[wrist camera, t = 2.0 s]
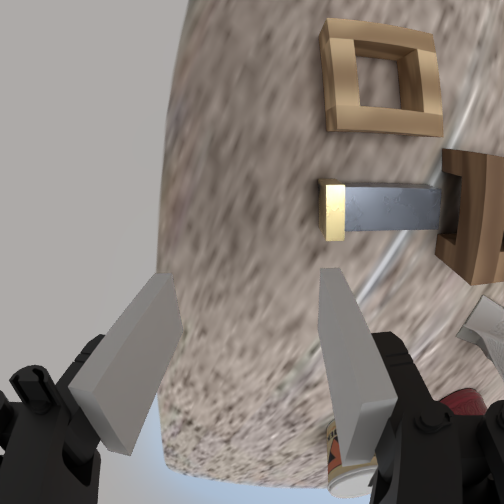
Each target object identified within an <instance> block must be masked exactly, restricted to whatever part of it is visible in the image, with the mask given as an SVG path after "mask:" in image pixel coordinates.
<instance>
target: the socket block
mask: <svg viewBox="0 0 504 504" xmlns="http://www.w3.org/2000/svg"><path fill="white" fill-rule="evenodd" d="M442 171H443V172H447V173H451V174H455V175H458V176H462V185H461V200H460V212H459V221H458V230H457V234H438V235H437V243H436V250H435V255H436V256H437V257H438V258H439V259H440V260H442V261H443V262H444V263H445V264H446V265H448V266H449V267H450V268H451V269H452V270H454V271H455V272H456V273H457V274H458V275H459V276H460V277H462V278H463V279H464V280H465V281H466V282H467V283H468V284H470V285H471V286H472V285H480V284H488V283H496V282H503V281H504V236H503V231H504V157H499V156H494V155H488V154H482V153H475V152H468V151H460V150H452V149H444V148H442Z"/></svg>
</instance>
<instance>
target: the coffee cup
mask: <svg viewBox="0 0 504 504" xmlns="http://www.w3.org/2000/svg"><path fill="white" fill-rule="evenodd" d="M327 459H328V486H327V488H328V491H329V492H330V494H331V495H332V496H334V497H337V498H355V497H360V496H364V495H368V494H371V492H372V487H368V484H369V482H370V480H371V478H372V476H373V474H374V473H375V471H376V469H377V467H378V463H377V459H376V454H374V456H373V458H372V460H371V462H370V463H365V464H359V465H352V466H345V467H342V461H341V454H340V448H339V442H338V435H337V429H336V423H335V419H334V420H333V421H332V422H331V423H330V424H329V425H328V427H327ZM372 486H373V485H372Z"/></svg>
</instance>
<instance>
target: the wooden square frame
mask: <svg viewBox="0 0 504 504" xmlns="http://www.w3.org/2000/svg"><path fill="white" fill-rule="evenodd" d="M319 45H320V54H321V64H322V74H323V86H324V99H325V114H326V131H333V132H366V133H384V134H397V135H409V136H420V137H443V115H442V101H441V89H440V80H439V72H438V64H437V58H436V51H435V46H434V40H433V35H432V34H429V33H425V32H421V31H417V30H412V29H408V28H403V27H398V26H392V25H386V24H380V23H373V22H366V21H357V20H348V19H336V18H327V19H326V21H325V23H324V25H323V28H322V30H321V32H320V34H319ZM355 56H361V57H371V58H379V59H387V60H394V61H397V68H398V77H399V87H400V99H401V109H391V108H380V107H367V106H360V98H359V86H358V75H357V65H356V57H355Z"/></svg>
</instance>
